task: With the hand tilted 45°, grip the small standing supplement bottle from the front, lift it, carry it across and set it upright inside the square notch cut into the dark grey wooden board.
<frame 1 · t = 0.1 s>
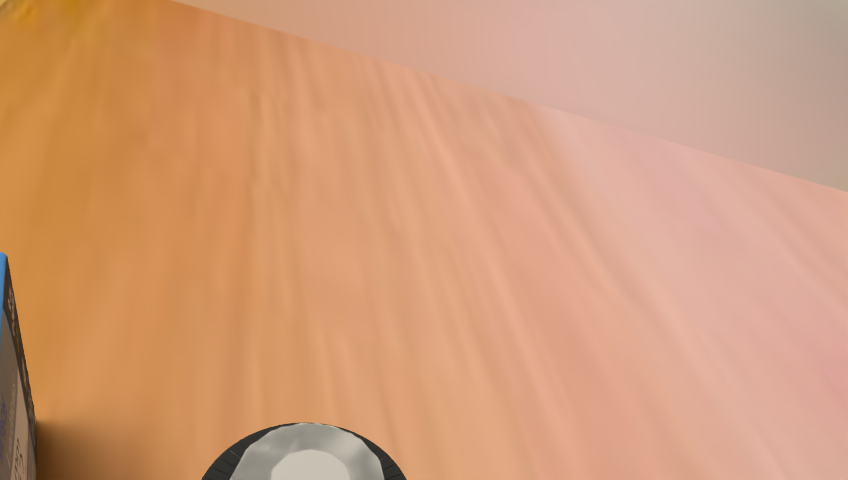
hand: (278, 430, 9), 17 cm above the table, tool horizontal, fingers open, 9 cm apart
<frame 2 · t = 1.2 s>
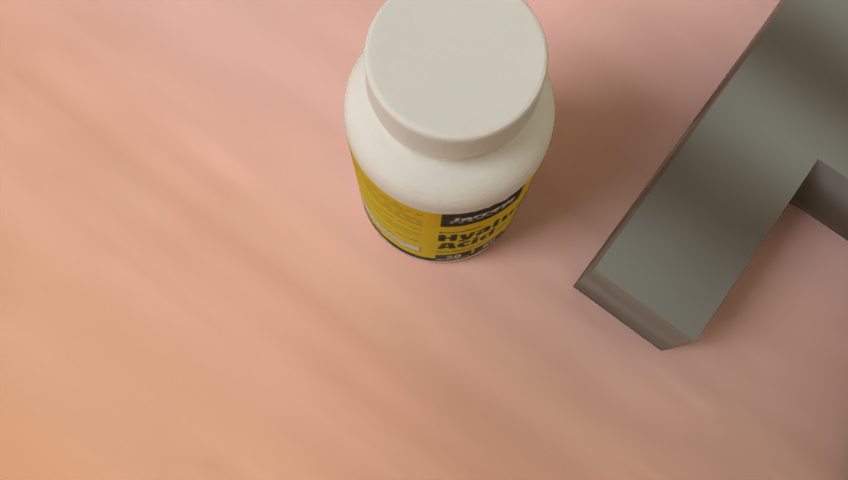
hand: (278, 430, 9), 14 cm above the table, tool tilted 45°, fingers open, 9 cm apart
supplement bottle: (440, 191, 25), on the table
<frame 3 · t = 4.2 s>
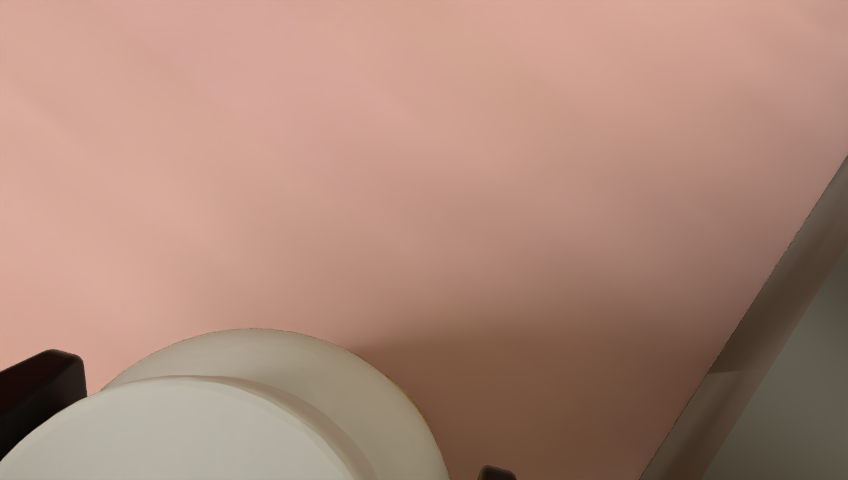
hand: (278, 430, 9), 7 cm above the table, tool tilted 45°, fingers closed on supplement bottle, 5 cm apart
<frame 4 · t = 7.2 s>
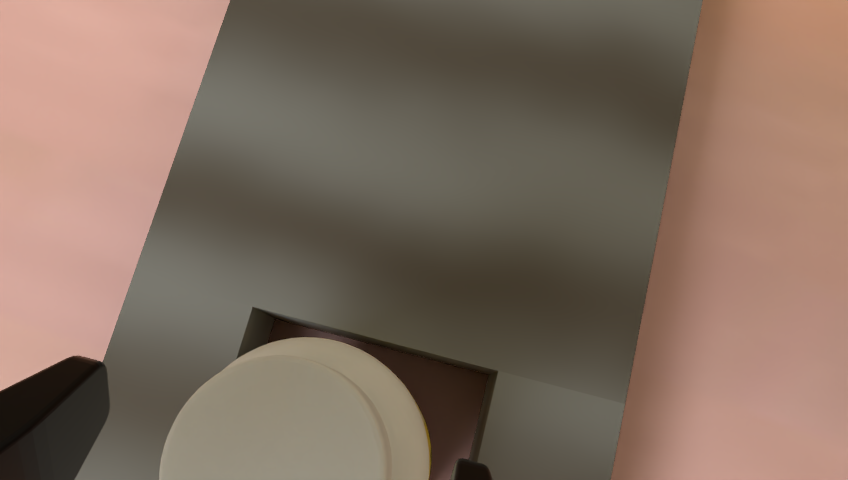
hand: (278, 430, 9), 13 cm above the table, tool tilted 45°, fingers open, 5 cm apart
supplement bottle: (345, 454, 22), on the table
notched board: (420, 198, 24), on the table
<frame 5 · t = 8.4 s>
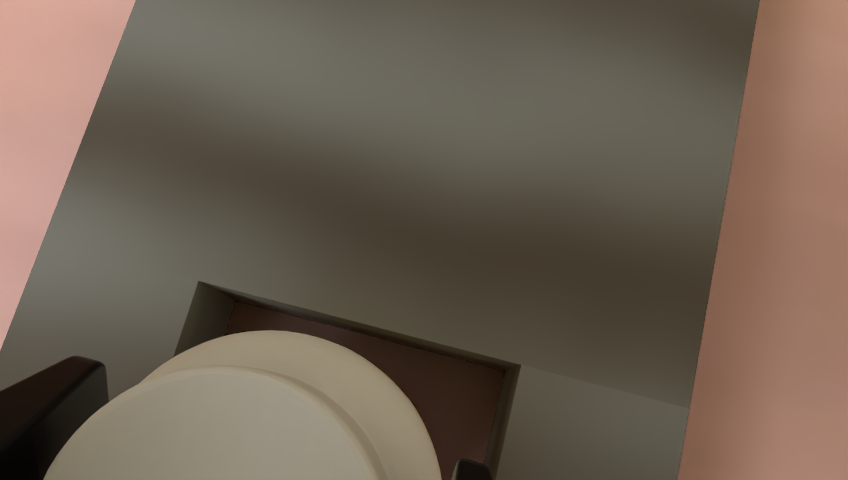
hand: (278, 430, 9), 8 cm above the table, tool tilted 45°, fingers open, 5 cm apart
supplement bottle: (323, 472, 17), on the table
notched board: (419, 151, 19), on the table
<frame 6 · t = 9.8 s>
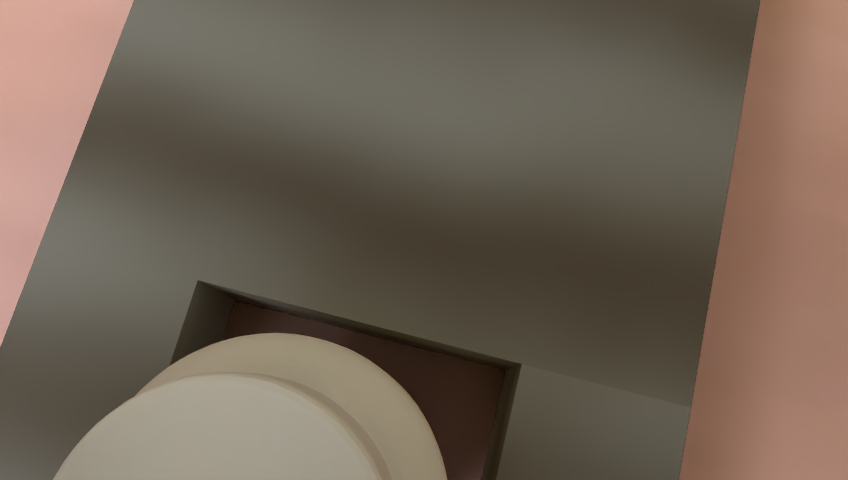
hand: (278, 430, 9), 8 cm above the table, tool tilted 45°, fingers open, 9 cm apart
supplement bottle: (328, 470, 17), on the table
notched board: (419, 150, 19), on the table
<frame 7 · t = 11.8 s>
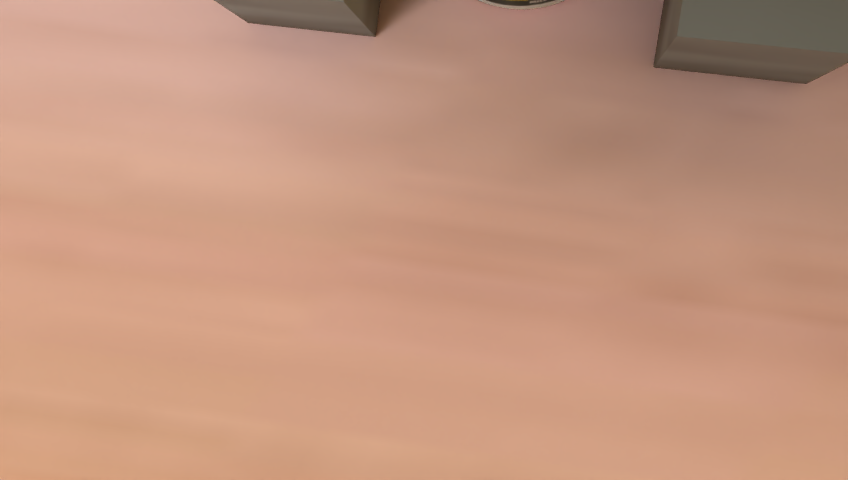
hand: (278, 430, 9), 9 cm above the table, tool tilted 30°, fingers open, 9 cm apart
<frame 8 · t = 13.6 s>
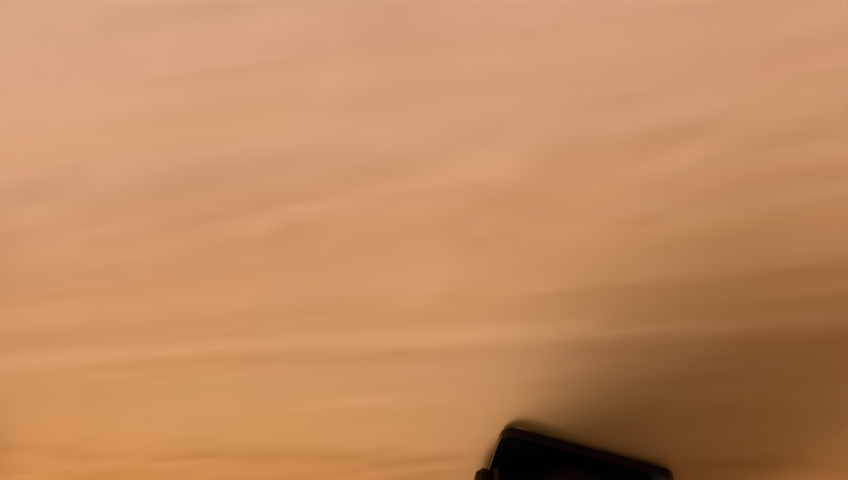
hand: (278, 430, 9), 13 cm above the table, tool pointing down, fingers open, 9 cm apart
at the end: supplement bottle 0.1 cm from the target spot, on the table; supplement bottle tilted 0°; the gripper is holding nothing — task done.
